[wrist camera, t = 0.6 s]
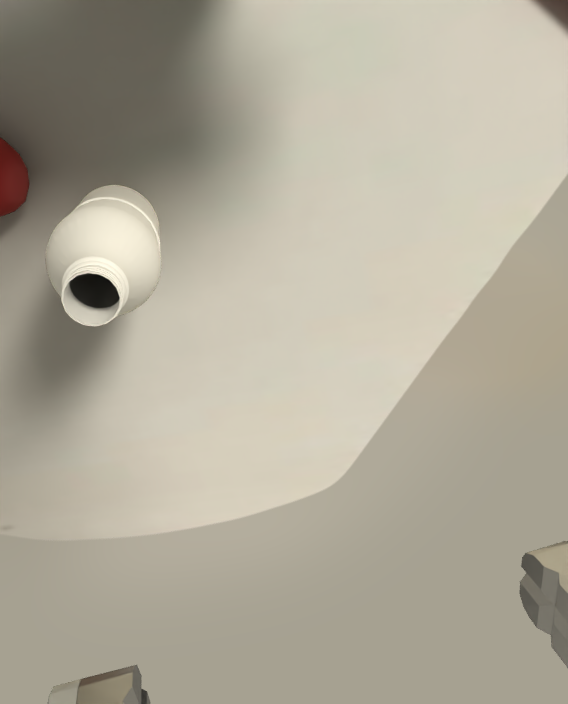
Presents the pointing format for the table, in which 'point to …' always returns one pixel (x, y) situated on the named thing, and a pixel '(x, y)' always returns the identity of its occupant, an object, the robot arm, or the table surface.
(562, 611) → the robot arm
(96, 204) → the water bottle
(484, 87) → the table surface
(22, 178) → the tomato
